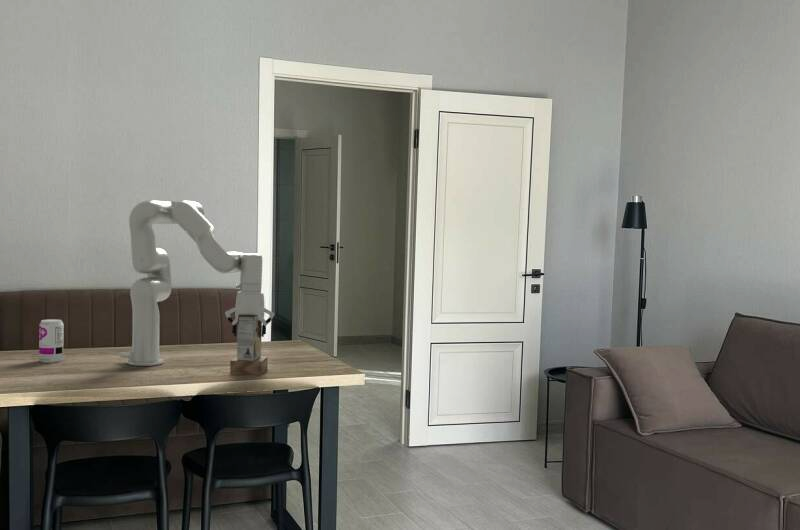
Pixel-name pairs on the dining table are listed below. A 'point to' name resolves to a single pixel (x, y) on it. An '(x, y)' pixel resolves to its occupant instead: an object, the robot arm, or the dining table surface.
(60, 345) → the supplement can
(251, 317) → the coffee box
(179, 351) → the dining table surface
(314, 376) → the dining table surface
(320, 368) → the dining table surface
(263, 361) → the walnut block
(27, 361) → the dining table surface
